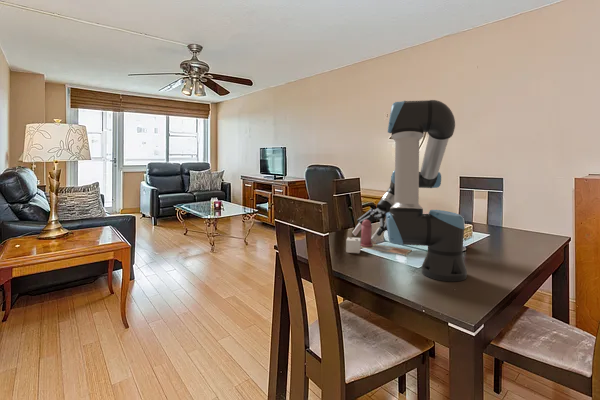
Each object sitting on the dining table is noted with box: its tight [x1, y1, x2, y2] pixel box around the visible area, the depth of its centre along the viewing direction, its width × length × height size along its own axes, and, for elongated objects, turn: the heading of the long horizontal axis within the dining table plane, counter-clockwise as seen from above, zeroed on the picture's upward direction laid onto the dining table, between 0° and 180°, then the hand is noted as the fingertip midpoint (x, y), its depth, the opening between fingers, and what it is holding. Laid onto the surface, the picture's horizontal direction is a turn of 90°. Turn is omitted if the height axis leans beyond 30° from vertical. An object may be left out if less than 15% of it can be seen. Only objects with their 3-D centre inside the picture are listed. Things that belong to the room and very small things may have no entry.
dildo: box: [360, 219, 374, 247], centre depth 158 cm, size 6×6×13 cm
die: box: [345, 236, 362, 254], centre depth 149 cm, size 6×6×6 cm
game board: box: [361, 243, 413, 257], centre depth 154 cm, size 9×25×1 cm, turn 55°
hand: (363, 237), depth 157 cm, fingers open, 13 cm apart
